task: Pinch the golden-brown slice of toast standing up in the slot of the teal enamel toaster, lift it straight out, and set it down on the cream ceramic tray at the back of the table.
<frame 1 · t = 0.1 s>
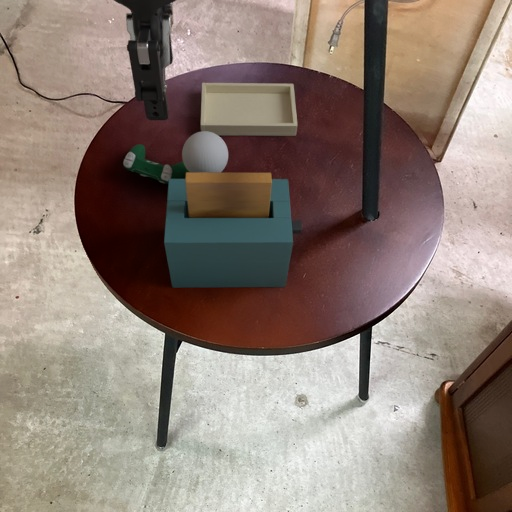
hand: (160, 89, 58), 20 cm above the table, tool pointing down, fingers open, 8 cm apart
toast: (228, 229, 65), point 6 cm above the table, touching toaster
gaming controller: (158, 174, 78), on the table
light bulb: (207, 190, 76), on the table
toaster: (229, 256, 71), on the table
tray: (248, 114, 85), on the table
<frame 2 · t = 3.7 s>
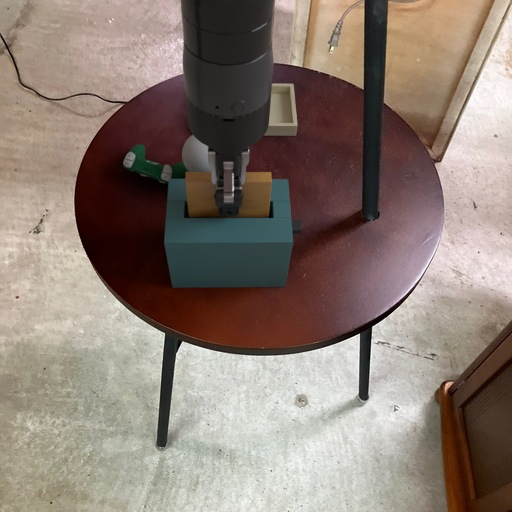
hand: (228, 206, 62), 11 cm above the table, tool pointing down, fingers closed on toast, 1 cm apart
toast: (228, 229, 65), point 6 cm above the table, touching gripper
everything else where it was.
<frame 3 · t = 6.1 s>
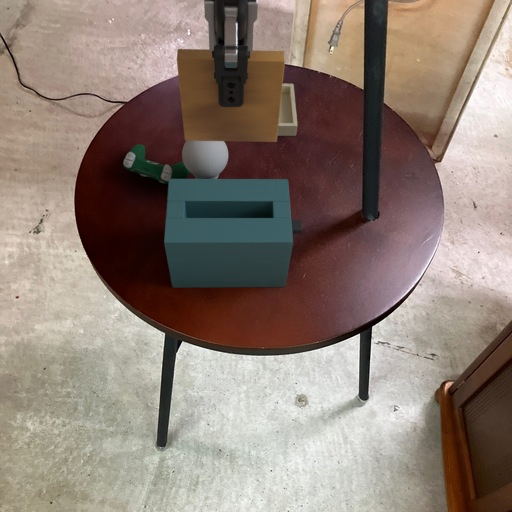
hand: (231, 97, 50), 25 cm above the table, tool pointing down, fingers closed on toast, 1 cm apart
toast: (231, 136, 54), point 20 cm above the table, touching gripper
everything else where it was.
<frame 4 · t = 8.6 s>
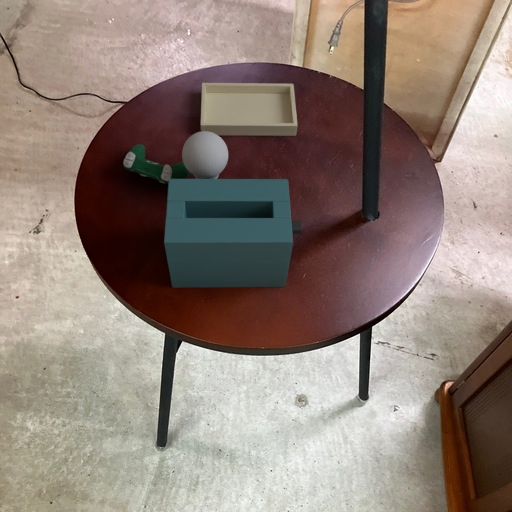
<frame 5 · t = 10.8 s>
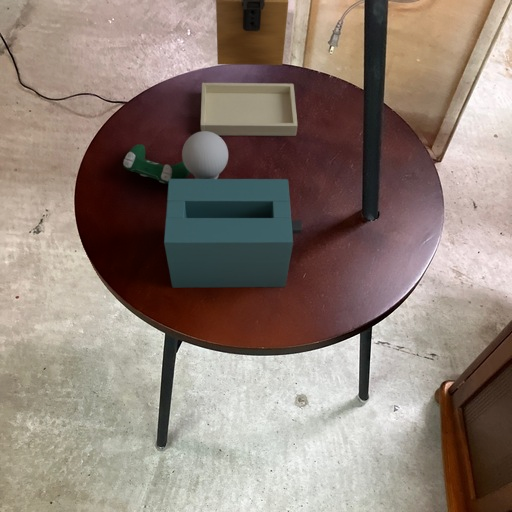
hand: (251, 24, 72), 15 cm above the table, tool pointing down, fingers closed on toast, 1 cm apart
toast: (250, 61, 77), point 10 cm above the table, touching gripper
everything else where it was.
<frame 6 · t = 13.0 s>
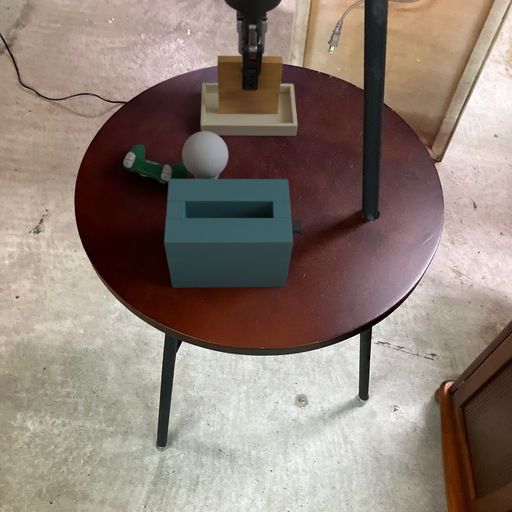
hand: (249, 78, 79), 7 cm above the table, tool pointing down, fingers open, 4 cm apart
toast: (248, 111, 84), point 1 cm above the table, touching tray
everything else where it was.
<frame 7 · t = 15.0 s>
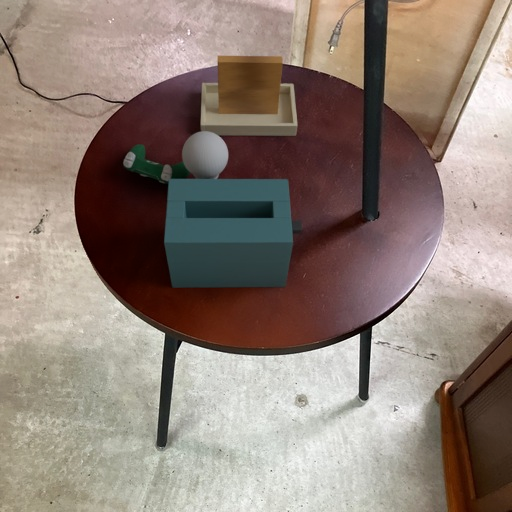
nothing on the table moved.
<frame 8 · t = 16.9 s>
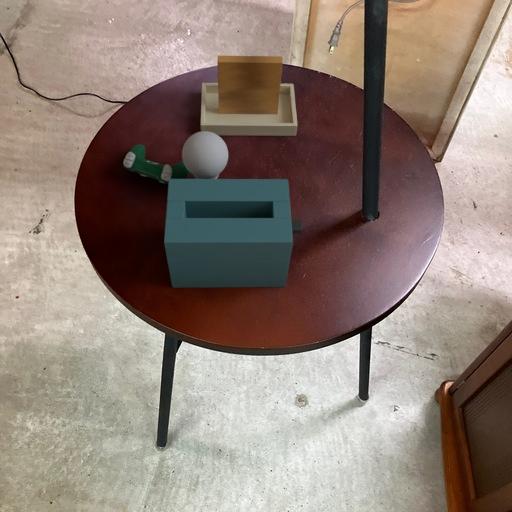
nothing on the table moved.
at the end: toast inside the target area in the tray (0.0 cm from its centre), point 0.6 cm above the tray's base; toast touching tray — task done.
